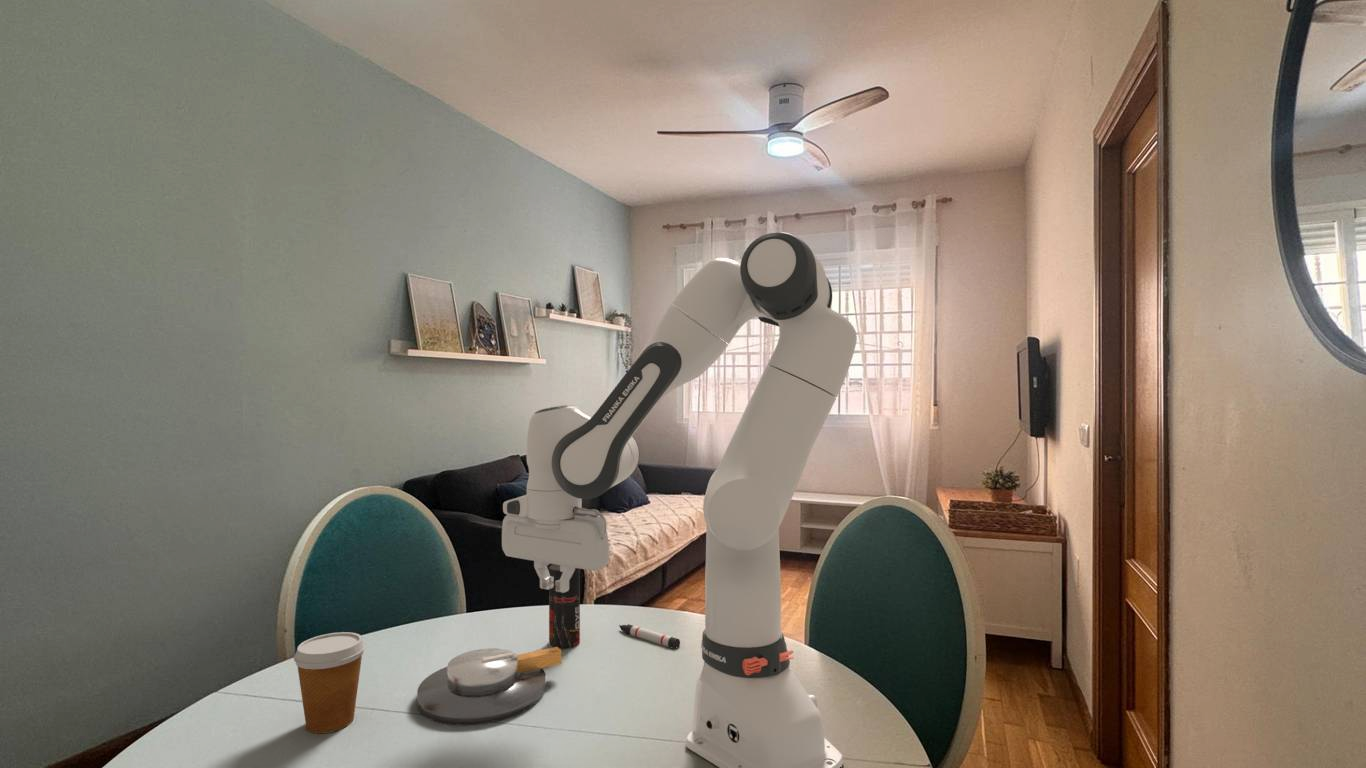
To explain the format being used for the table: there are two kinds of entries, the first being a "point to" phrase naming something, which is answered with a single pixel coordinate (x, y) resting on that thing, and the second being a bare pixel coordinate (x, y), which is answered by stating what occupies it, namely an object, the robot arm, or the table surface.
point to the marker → (651, 635)
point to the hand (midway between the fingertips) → (554, 589)
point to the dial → (494, 669)
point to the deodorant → (564, 611)
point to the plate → (478, 699)
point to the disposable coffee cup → (329, 679)
